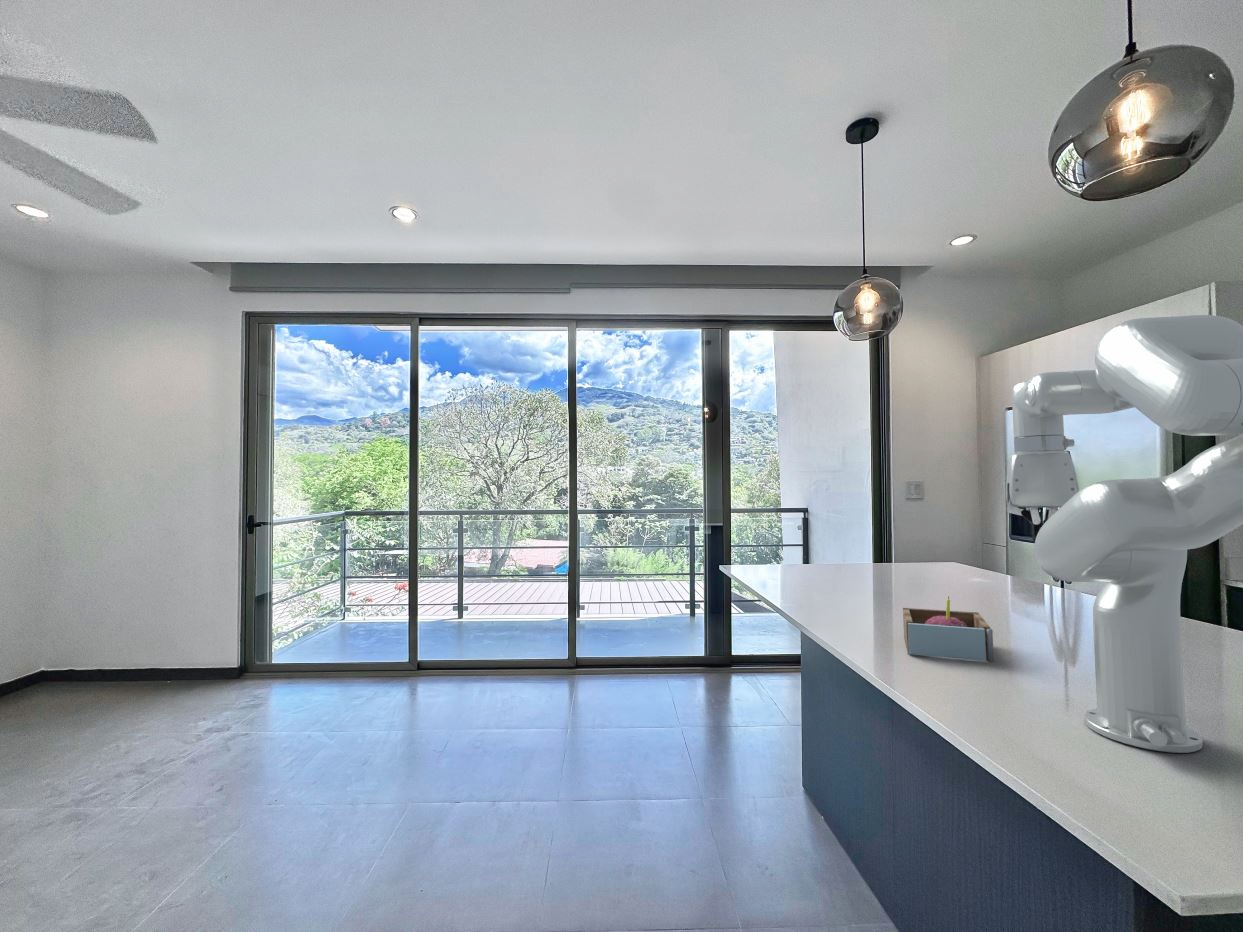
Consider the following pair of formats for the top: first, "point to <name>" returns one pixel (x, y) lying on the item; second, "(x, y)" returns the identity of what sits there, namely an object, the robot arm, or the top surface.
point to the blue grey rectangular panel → (950, 641)
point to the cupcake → (946, 619)
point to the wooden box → (924, 614)
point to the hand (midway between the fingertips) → (1043, 545)
